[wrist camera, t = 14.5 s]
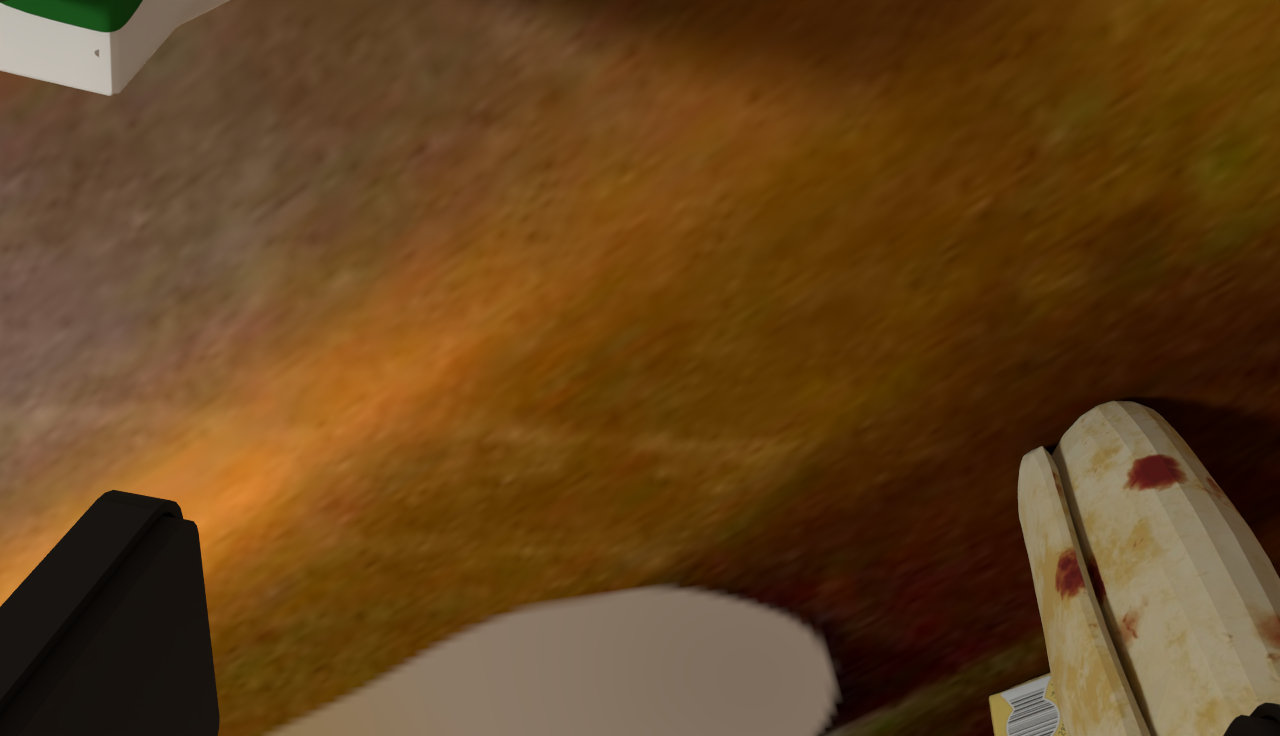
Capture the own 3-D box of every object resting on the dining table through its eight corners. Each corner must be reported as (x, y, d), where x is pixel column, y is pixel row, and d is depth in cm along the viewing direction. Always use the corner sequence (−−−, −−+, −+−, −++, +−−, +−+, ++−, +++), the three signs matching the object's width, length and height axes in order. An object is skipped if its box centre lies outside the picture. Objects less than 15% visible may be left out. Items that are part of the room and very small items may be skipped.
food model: (1140, 572, 46) (1341, 1079, 29) (979, 550, 46) (1082, 1036, 29) (1221, 374, 41) (1523, 847, 24) (1039, 352, 41) (1206, 800, 24)
